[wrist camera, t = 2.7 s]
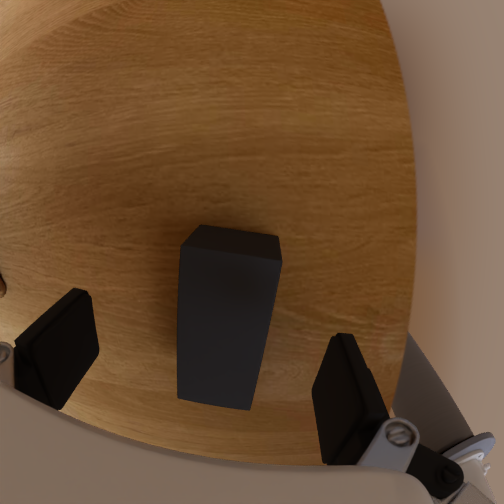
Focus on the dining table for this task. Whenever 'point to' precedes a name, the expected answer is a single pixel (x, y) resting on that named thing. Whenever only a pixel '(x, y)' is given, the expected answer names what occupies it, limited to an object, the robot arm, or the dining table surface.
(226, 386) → the pad
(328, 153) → the dining table surface
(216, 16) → the dining table surface
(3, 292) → the stuffed squirrel
